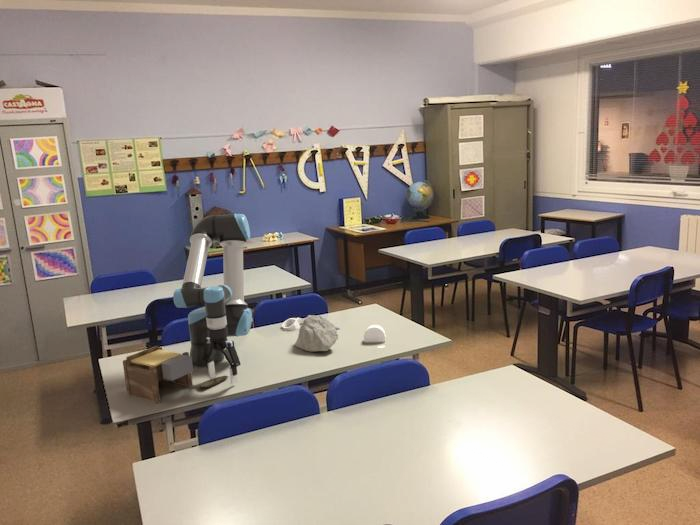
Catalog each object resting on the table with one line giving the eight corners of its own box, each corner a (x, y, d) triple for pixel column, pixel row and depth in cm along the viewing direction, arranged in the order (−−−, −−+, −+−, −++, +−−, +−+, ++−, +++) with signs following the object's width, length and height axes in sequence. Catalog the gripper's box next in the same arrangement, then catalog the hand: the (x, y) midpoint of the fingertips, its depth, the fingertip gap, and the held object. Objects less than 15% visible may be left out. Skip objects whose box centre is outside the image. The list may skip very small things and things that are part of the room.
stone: (204, 391, 218) (203, 385, 218) (196, 389, 221) (195, 383, 221) (230, 379, 228) (229, 374, 228) (222, 377, 232) (221, 372, 231)
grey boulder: (344, 349, 256) (342, 317, 253) (325, 359, 246) (323, 325, 243) (306, 342, 269) (304, 311, 267) (287, 350, 259) (284, 319, 256)
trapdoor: (160, 362, 229) (158, 347, 228) (196, 370, 218) (194, 355, 217) (133, 373, 218) (130, 358, 217) (169, 382, 207) (167, 366, 206)
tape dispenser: (387, 341, 271) (385, 320, 269) (384, 355, 253) (383, 332, 251) (366, 342, 272) (365, 320, 270) (363, 355, 254) (361, 332, 252)
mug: (296, 344, 285) (288, 329, 281) (286, 341, 291) (278, 326, 287) (312, 329, 292) (305, 314, 287) (302, 326, 298) (294, 312, 294)
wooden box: (163, 379, 234) (159, 344, 231) (192, 386, 224) (188, 350, 222) (127, 395, 220) (122, 358, 217) (156, 403, 210) (151, 365, 208)
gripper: (188, 326, 224) (195, 378, 228) (232, 333, 211) (238, 388, 215) (203, 320, 230) (209, 372, 234) (246, 327, 217) (251, 381, 221)
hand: (223, 380), depth 224 cm, fingers open, 11 cm apart
